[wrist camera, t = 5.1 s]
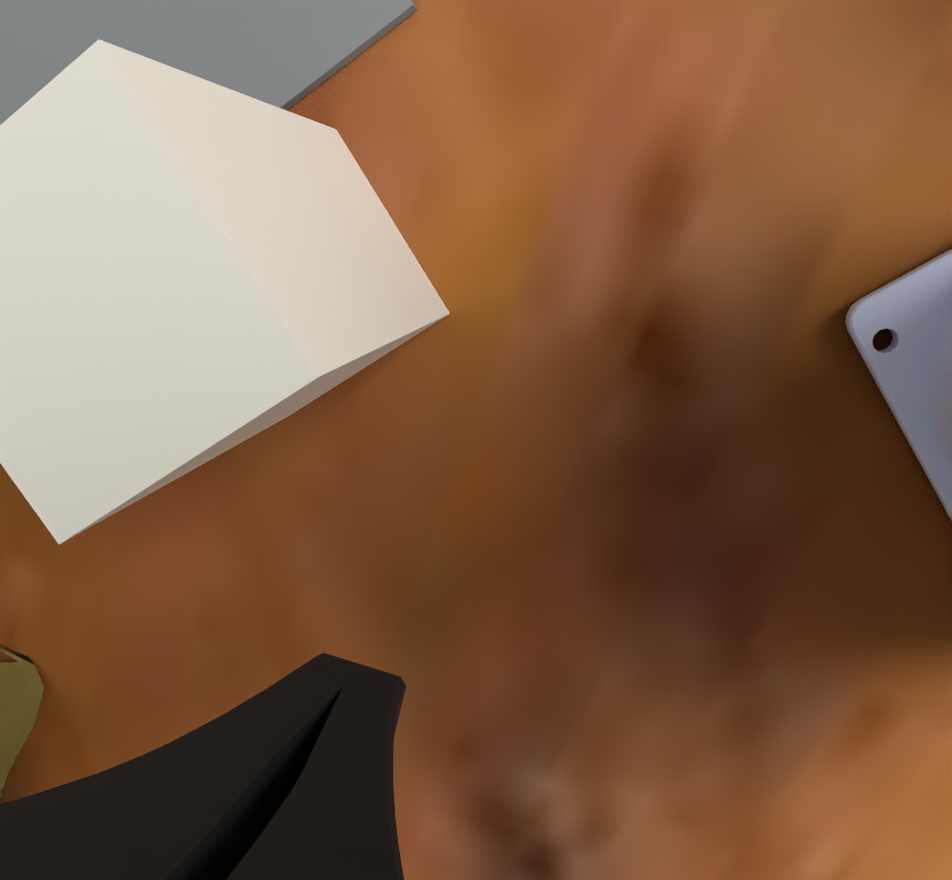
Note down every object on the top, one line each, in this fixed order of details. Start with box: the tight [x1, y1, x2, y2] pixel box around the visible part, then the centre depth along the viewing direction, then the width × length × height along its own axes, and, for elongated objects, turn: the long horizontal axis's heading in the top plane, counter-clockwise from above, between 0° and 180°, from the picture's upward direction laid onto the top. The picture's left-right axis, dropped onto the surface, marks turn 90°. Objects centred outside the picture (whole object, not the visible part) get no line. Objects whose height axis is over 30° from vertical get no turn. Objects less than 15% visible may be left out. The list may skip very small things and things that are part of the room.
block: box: [0, 39, 450, 544], centre depth 15 cm, size 5×5×9 cm
